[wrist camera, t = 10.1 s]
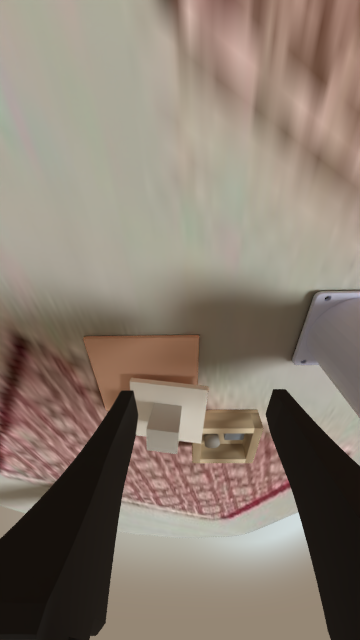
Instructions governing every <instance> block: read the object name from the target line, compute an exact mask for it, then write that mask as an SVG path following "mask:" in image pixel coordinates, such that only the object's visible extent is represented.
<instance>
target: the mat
mask: <svg viewBox="0 0 360 640" xmlns="http://www.w3.org/2000/svg"><path fill="white" fill-rule="evenodd" d="M83 340H84V343H85V346H86V349H87V352H88V356H89V359H90V362H91V365H92V368H93V371H94V374H95V377H96V380H97V383H98V386H99V390H100V393H101V396H102V399H103V402H104V405H105V408H106V411H109V410H110V408H111V407H112V405H113V404H114V402H115V400H116V398H117V397H118V395H119V393H120V392H121V391H124V390H130V380H131V378H140V379H149V380H157V381H166V382H175V383H184V384H193V385H198V356H199V335H158V336H85V337H84V338H83Z"/></svg>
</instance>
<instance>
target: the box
mask: <svg viewBox="0 0 360 640" xmlns="http://www.w3.org/2000/svg"><path fill="white" fill-rule="evenodd" d="M262 432H263V425H262V422H261V419H260V416H259V413H258V410H206V412H205V419H204V426H203V433H202V440H201V444H199V443H192V463H253V460H254V457H255V453H256V450H257V447H258V444H259V441H260V438H261V435H262Z"/></svg>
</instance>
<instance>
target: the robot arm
mask: <svg viewBox="0 0 360 640" xmlns="http://www.w3.org/2000/svg"><path fill="white" fill-rule="evenodd" d="M327 296H328V298H327V299H325V297H327ZM302 360H303V361H302ZM292 361H293V363H294V364H295V365H320V366H321V368H322V369H323V370H324V372H325V373H326V374H327V376H328V377H329V378H330V380H331V381H332V382H333V384H334V385H335V386H336V388H337V389H338V390H339V392H340V393H341V394H342V395H343V397H344V398H345V399H346V401H347V402H348V403H349V405H350V406H351V407H352V409H353V410H354V411H355V413H356V414H357V415H358V417H359V418H360V291H321V292H318V293H316V294H315V295H314V297H313V300H312V303H311V306H310V309H309V312H308V315H307V318H306V320H305V323H304V326H303V329H302V332H301V335H300V338H299V341H298V344H297V347H296V350H295V353H294V356H293V358H292ZM266 417H267V421H268V425H269V429H270V433H271V436H272V439H273V441H274V444H275V447H276V449H277V452H278V455H279V457H280V460H281V462H282V465H283V468H284V470H285V473H286V475H287V478H288V481H289V483H290V486H291V489H292V492H293V495H294V498H295V502H296V505H297V508H298V512H299V515H300V519H301V522H302V526H303V529H304V533H305V537H306V540H307V544H308V548H309V552H310V556H311V560H312V564H313V567H314V572H315V575H316V580H317V583H318V588H319V592H320V597H321V601H322V606H323V610H324V615H325V619H326V624H327V629H328V632H329V635H330V638H331V640H360V466H359V465H358V464H357V463H356V462H355V461H354V460H352V459H351V458H350V457H349V456H348V455H347V454H346V453H345V452H344V451H343V450H342V449H341V448H340V447H339V446H338V445H337V444H336V443H335V442H334V441H333V440H332V439H331V438H330V437H329V436H328V435H327V434H326V433H325V432H324V431H323V430H322V429H321V428H320V427H319V426H318V425H317V424H316V423H315V422H314V421H313V419H312V418H311V417H310V416H309V415H308V414H307V413H306V412H305V411H304V410H303V408H302V407H301V406H300V405H299V404H298V403H297V402H296V401H295V399H294V398H293V397H292V396H291V395H290V394H289V393H288V392H287V390H286V389H273V392H272V395H271V399H270V402H269V405H268V408H267V411H266ZM137 422H138V410H137V405H136V400H135V395H134V390H124V391H121V392H120V393H119V395H118V397H117V398H116V400H115V402H114V404H113V405H112V407H111V408H110V410H109V412H108V413H107V415H106V416H105V418H104V419H103V421H102V422H101V424H100V425H99V427H98V428H97V430H96V431H95V433H94V434H93V436H92V437H91V438H90V440H89V441H88V442H87V444H86V445H85V447H84V448H83V449H82V451H81V452H80V453H79V454H78V456H77V457H76V458H75V460H74V461H73V462H72V463H71V464H70V466H69V467H68V468H67V469H66V470H65V472H64V473H63V474H62V475H61V476H60V477H59V479H58V480H57V481H56V482H55V483H54V484H53V485H52V487H51V488H50V489H49V490H48V491H47V492H46V493H45V494H44V495H43V496H42V497H41V499H40V500H39V501H38V502H37V503H36V504H35V505H34V506H33V507H32V508H31V509H30V510H29V511H28V512H27V513H26V514H25V515H24V516H23V517H22V518H21V519H20V520H19V521H18V522H17V523H16V524H15V525H14V526H13V527H12V528H11V529H10V530H9V531H8V532H7V533H6V534H5V535H4V536H3V537H2V538H1V539H0V640H89V638H90V636H96V635H97V634H98V632H99V631H100V630H101V629H102V627H103V626H104V624H105V622H106V613H107V604H108V594H109V586H110V578H111V570H112V562H113V554H114V547H115V540H116V533H117V526H118V519H119V512H120V506H121V499H122V493H123V488H124V483H125V479H126V475H127V471H128V466H129V462H130V458H131V454H132V449H133V445H134V441H135V436H136V430H137Z"/></svg>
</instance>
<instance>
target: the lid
mask: <svg viewBox="0 0 360 640" xmlns="http://www.w3.org/2000/svg"><path fill="white" fill-rule="evenodd" d="M130 390H134V395H135V400H136V405H137V410H138V422H137V430H136V435H139V436H147V450H151V451H158V452H165V453H172V454H177V451H178V443H179V441H184V442H192V443H199V444H201V440H202V433H203V426H204V419H205V412H206V404H207V397H208V386H202V385H193V384H184V383H175V382H166V381H157V380H149V379H140V378H131V380H130Z"/></svg>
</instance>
